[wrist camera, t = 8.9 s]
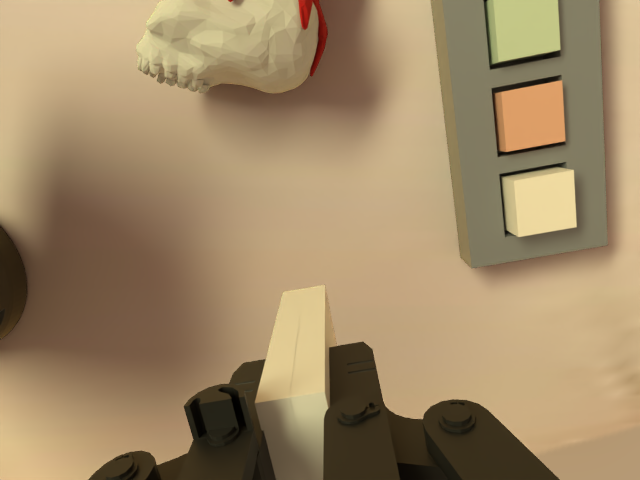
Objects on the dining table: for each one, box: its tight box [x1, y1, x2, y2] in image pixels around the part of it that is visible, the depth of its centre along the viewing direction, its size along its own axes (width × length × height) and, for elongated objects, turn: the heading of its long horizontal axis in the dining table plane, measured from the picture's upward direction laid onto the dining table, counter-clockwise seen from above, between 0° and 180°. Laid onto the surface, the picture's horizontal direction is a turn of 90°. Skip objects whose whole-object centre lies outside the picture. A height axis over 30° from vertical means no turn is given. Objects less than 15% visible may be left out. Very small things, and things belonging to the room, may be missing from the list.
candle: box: [136, 0, 328, 94], centre depth 32 cm, size 9×11×15 cm
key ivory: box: [501, 167, 577, 237], centre depth 35 cm, size 4×4×3 cm
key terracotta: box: [492, 80, 565, 152], centre depth 35 cm, size 4×4×3 cm
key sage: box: [484, 0, 560, 66], centre depth 33 cm, size 4×4×3 cm
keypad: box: [431, 0, 608, 268], centre depth 35 cm, size 11×29×3 cm, turn 11°
